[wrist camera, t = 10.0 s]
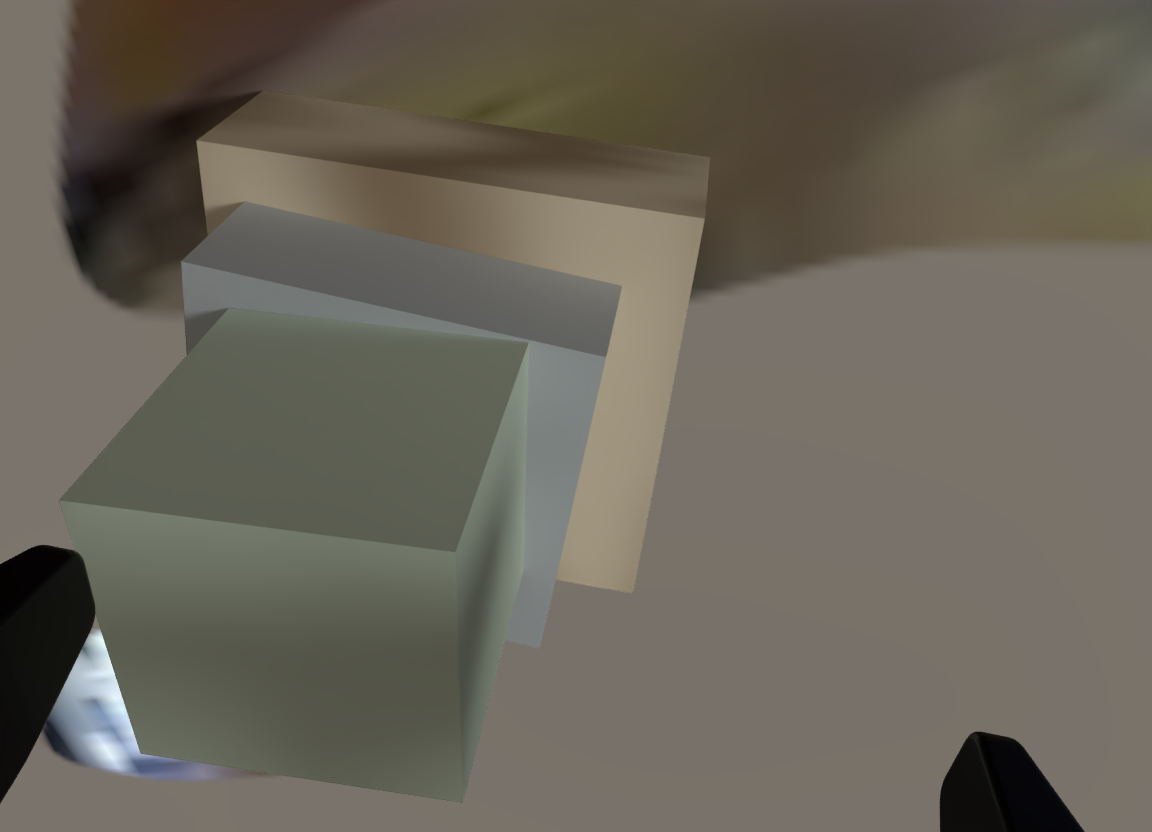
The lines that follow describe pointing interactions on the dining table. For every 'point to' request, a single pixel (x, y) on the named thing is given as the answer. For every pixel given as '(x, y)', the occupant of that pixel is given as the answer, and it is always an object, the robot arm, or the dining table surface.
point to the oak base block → (506, 252)
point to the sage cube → (314, 549)
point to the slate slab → (435, 303)
